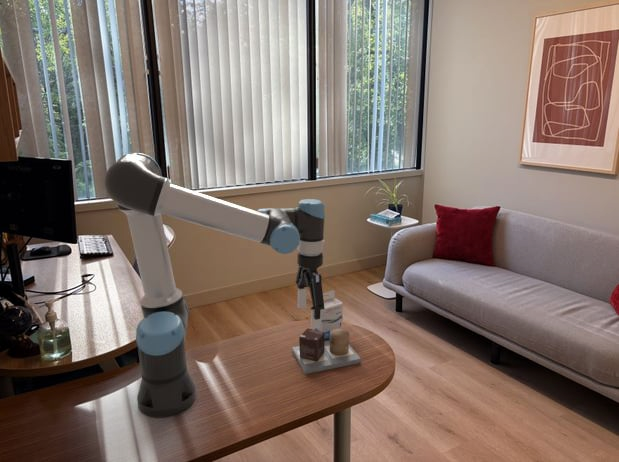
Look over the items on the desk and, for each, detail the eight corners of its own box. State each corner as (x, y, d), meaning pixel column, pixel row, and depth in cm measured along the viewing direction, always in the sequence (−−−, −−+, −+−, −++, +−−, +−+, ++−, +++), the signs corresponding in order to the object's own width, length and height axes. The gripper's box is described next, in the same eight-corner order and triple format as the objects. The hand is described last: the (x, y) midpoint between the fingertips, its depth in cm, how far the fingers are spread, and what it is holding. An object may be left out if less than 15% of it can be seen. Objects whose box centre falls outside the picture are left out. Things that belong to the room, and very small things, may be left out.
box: (325, 352, 145) (325, 331, 142) (317, 362, 139) (317, 341, 137) (307, 348, 147) (307, 327, 145) (299, 357, 142) (298, 336, 140)
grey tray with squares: (305, 374, 136) (305, 369, 136) (292, 351, 148) (292, 347, 148) (360, 362, 142) (360, 358, 142) (343, 341, 154) (344, 337, 153)
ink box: (322, 340, 154) (322, 300, 150) (314, 334, 158) (314, 295, 154) (342, 333, 159) (343, 294, 155) (334, 327, 163) (334, 289, 159)
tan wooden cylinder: (326, 347, 148) (327, 330, 146) (344, 344, 150) (344, 327, 148) (333, 357, 142) (334, 339, 140) (351, 353, 144) (352, 336, 142)
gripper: (337, 265, 126) (334, 335, 132) (309, 238, 148) (307, 298, 154) (311, 268, 123) (309, 339, 129) (286, 240, 146) (285, 301, 152)
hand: (308, 317), depth 142 cm, fingers open, 13 cm apart
